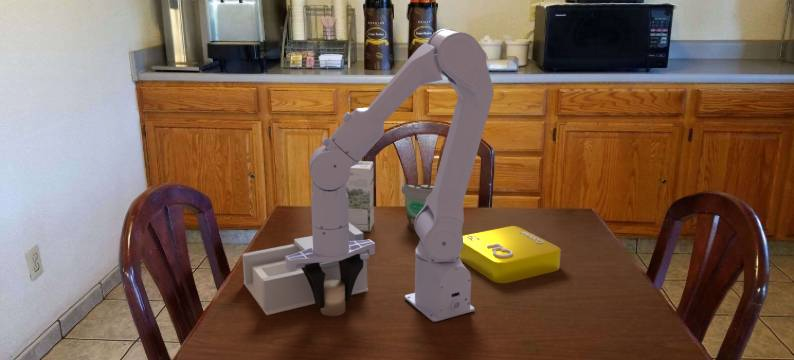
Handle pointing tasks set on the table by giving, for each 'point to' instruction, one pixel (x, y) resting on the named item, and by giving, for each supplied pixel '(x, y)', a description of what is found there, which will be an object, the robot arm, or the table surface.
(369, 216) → the syrup box
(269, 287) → the housing
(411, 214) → the food container
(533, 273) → the element tile
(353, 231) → the lid
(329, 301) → the beige cylinder
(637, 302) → the table surface
